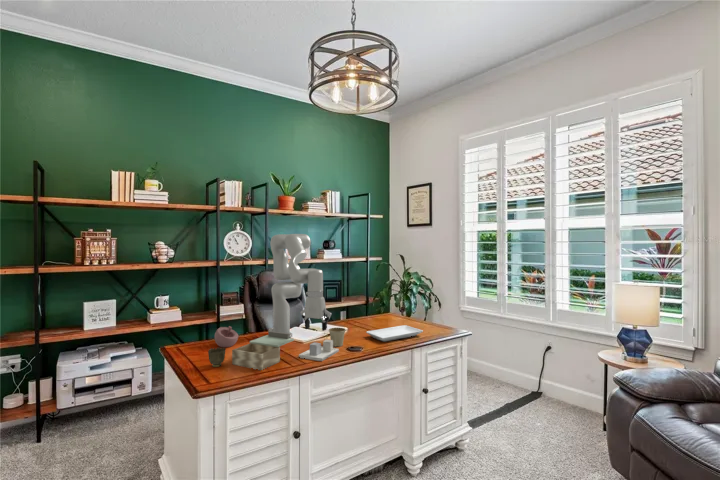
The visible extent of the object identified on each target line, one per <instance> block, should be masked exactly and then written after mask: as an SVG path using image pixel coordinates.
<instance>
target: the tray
mask: <svg viewBox="0 0 720 480" xmlns="http://www.w3.org/2000/svg"><path fill="white" fill-rule="evenodd" d="M423 332H424V330H422V329H419V328H415V327H413V326H409V325H406V324H405V325H404V324H403V325H397V326H392V327H385V328H379V329H372V330H368V331H366V334H367V335H368V336H370V337H372V338H374V339H376V340H378V341H381V342H390V341H394V340H399V339H405V338H411V336H412V337H416V336H417V335H420V334H421V333H423Z"/></svg>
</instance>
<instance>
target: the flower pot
mask: <svg viewBox="0 0 720 480" xmlns="http://www.w3.org/2000/svg"><path fill="white" fill-rule="evenodd" d="M346 330H347V329H346V328H344V327H331V328H328V332H329V337H330V340H333V348H335V347H336V348H337V347H340V348H341V347H342V346H344V338H345V333H346Z"/></svg>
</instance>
